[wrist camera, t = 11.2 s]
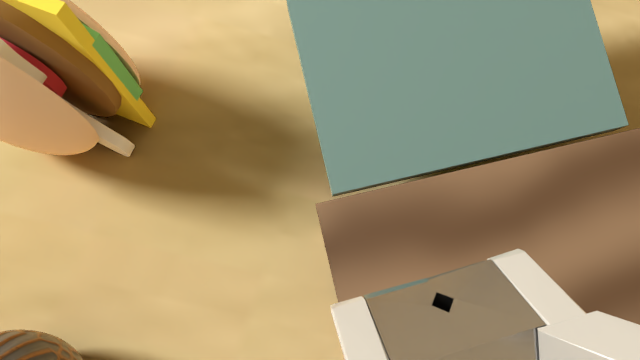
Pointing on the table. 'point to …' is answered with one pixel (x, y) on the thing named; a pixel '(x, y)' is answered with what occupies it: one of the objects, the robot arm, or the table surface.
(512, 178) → the wooden l-shaped block
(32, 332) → the vase
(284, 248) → the table surface
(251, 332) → the table surface
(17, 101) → the hamburger
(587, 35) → the grey-green flat slab
